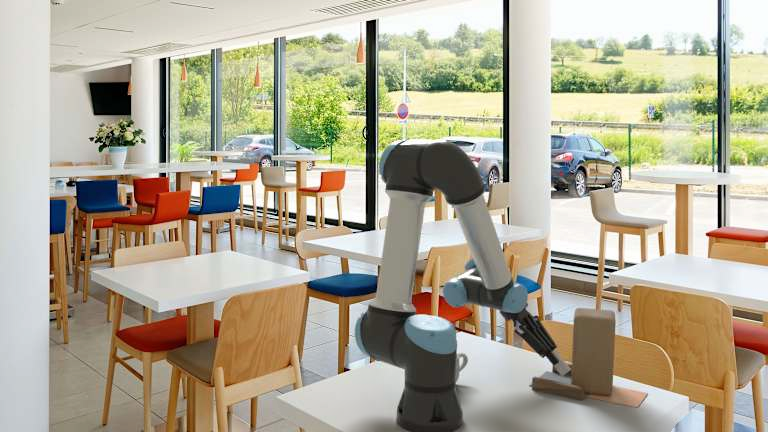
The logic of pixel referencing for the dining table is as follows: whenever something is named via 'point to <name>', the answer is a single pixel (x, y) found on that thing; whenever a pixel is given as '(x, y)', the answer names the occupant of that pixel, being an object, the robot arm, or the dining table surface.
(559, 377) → the grey square panel
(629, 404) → the tile
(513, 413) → the dining table surface
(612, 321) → the wooden block
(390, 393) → the dining table surface
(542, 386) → the lane rails
